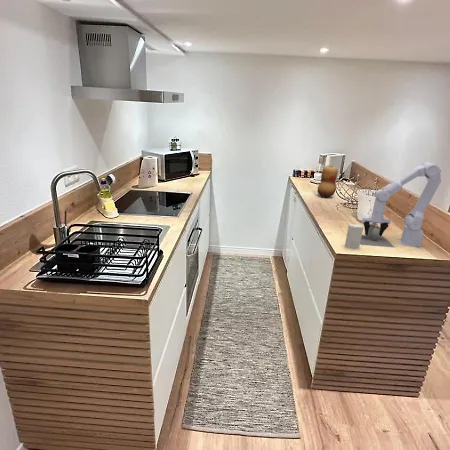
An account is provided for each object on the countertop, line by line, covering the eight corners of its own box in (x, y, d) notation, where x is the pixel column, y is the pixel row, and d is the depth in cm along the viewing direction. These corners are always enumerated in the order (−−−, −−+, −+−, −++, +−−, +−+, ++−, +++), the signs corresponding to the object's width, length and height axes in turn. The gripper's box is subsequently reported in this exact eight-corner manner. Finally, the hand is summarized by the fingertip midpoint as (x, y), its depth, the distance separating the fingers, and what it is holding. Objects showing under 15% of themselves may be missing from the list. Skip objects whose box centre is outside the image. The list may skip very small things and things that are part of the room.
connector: (373, 236, 196) (376, 221, 193) (378, 241, 188) (382, 226, 185) (366, 235, 196) (369, 221, 193) (371, 240, 188) (374, 226, 185)
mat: (383, 237, 197) (383, 236, 196) (395, 248, 181) (395, 247, 181) (351, 234, 197) (351, 234, 197) (360, 245, 182) (360, 244, 181)
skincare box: (355, 246, 180) (359, 224, 176) (359, 249, 176) (364, 227, 172) (344, 245, 180) (348, 223, 176) (347, 249, 175) (352, 226, 171)
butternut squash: (321, 199, 270) (326, 167, 262) (313, 194, 282) (318, 164, 274) (337, 199, 273) (343, 167, 265) (329, 194, 286) (334, 164, 277)
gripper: (388, 210, 190) (383, 233, 195) (362, 208, 190) (357, 231, 195) (394, 214, 184) (388, 238, 188) (366, 212, 184) (361, 236, 188)
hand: (373, 235), depth 191 cm, fingers open, 7 cm apart
